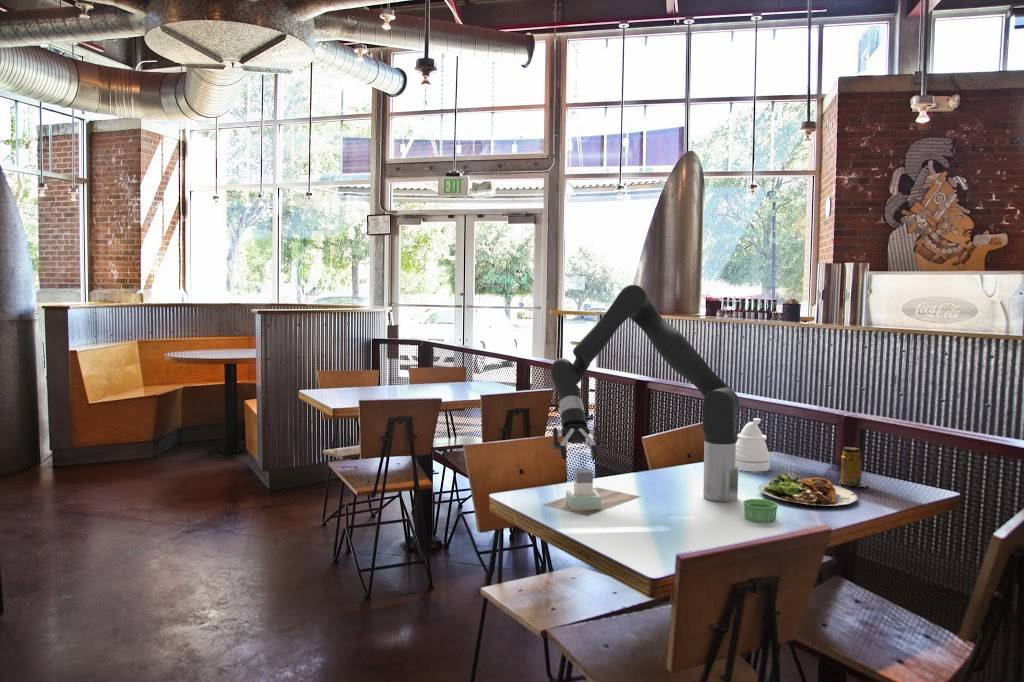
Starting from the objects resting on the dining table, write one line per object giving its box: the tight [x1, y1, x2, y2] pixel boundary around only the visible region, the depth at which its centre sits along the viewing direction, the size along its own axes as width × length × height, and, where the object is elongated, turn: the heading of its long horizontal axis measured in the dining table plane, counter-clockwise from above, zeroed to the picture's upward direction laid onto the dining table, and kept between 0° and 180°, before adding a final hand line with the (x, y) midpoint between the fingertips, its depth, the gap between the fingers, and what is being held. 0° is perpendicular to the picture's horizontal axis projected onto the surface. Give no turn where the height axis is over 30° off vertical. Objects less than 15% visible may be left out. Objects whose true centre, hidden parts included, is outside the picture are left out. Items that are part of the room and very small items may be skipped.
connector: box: [573, 468, 594, 497], centre depth 212 cm, size 4×4×10 cm
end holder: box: [565, 489, 601, 510], centre depth 212 cm, size 8×8×4 cm
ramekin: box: [743, 498, 779, 524], centre depth 204 cm, size 9×9×4 cm
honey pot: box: [736, 417, 771, 471], centre depth 265 cm, size 13×13×18 cm
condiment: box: [840, 446, 866, 489], centre depth 242 cm, size 7×8×12 cm
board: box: [542, 486, 642, 517], centre depth 217 cm, size 16×27×1 cm, turn 138°
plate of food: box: [758, 472, 858, 506], centre depth 227 cm, size 28×28×6 cm
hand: (579, 459), depth 217 cm, fingers open, 8 cm apart
